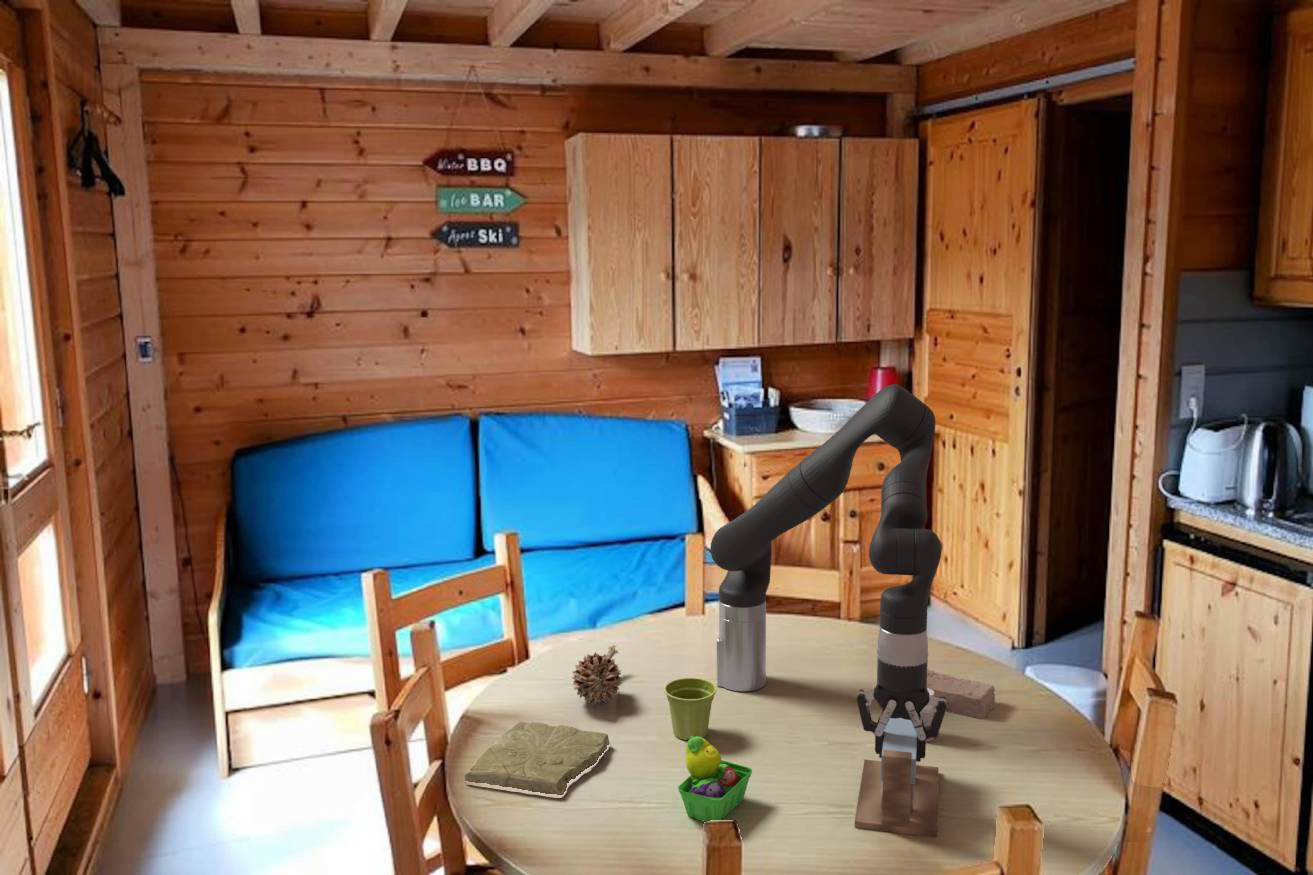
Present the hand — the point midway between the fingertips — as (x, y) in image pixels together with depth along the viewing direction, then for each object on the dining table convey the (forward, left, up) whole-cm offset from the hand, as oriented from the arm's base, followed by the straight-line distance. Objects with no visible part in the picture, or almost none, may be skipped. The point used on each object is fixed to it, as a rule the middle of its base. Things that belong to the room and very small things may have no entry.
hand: (899, 757), depth 171 cm
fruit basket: (-28, -9, -7) cm, 30 cm away
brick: (+7, +38, -8) cm, 40 cm away
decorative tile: (-59, -2, -8) cm, 60 cm away
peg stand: (0, 0, -7) cm, 7 cm away
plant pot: (-37, +15, -7) cm, 41 cm away
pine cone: (-58, +28, -7) cm, 65 cm away
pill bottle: (+3, +23, -7) cm, 24 cm away
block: (0, 0, -1) cm, 1 cm away
